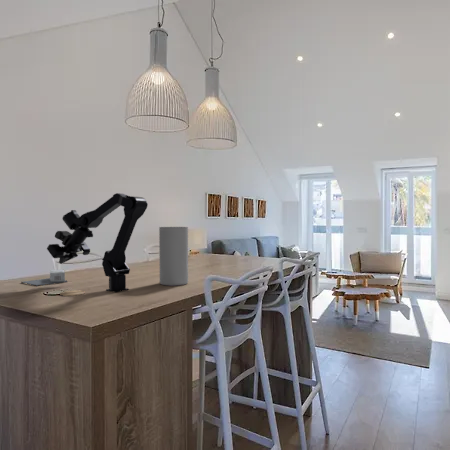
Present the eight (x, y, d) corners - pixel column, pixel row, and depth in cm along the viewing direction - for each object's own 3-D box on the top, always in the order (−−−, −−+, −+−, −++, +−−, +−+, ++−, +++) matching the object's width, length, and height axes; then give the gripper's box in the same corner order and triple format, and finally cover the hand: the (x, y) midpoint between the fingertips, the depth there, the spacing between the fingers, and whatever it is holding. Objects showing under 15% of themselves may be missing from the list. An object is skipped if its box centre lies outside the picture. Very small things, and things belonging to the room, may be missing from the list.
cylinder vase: (190, 281, 170) (190, 226, 169) (185, 286, 157) (184, 227, 157) (163, 281, 171) (163, 226, 171) (156, 285, 158) (155, 227, 158)
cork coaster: (89, 293, 143) (89, 292, 143) (68, 297, 136) (68, 296, 136) (76, 290, 148) (76, 289, 148) (54, 294, 141) (54, 293, 141)
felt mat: (67, 281, 170) (67, 280, 170) (36, 286, 158) (36, 284, 158) (50, 279, 178) (50, 277, 178) (20, 283, 167) (20, 281, 167)
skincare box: (50, 272, 164) (49, 269, 175) (50, 282, 165) (49, 278, 175) (65, 272, 167) (63, 268, 178) (65, 282, 167) (63, 277, 178)
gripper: (84, 224, 168) (68, 248, 173) (49, 224, 151) (31, 251, 156) (98, 241, 164) (80, 265, 169) (63, 244, 148) (45, 270, 152)
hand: (60, 263), depth 162 cm, fingers closed
